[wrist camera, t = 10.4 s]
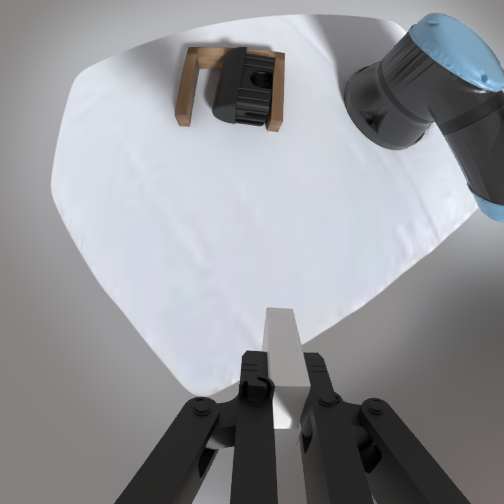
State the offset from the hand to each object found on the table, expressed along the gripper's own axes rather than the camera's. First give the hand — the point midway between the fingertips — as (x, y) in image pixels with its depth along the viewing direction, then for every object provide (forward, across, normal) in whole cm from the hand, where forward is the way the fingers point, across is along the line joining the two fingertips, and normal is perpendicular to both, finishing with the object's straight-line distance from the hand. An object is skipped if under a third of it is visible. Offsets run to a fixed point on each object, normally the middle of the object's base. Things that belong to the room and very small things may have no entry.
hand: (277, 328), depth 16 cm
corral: (+27, -6, +21) cm, 35 cm away
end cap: (+27, -5, +20) cm, 34 cm away
